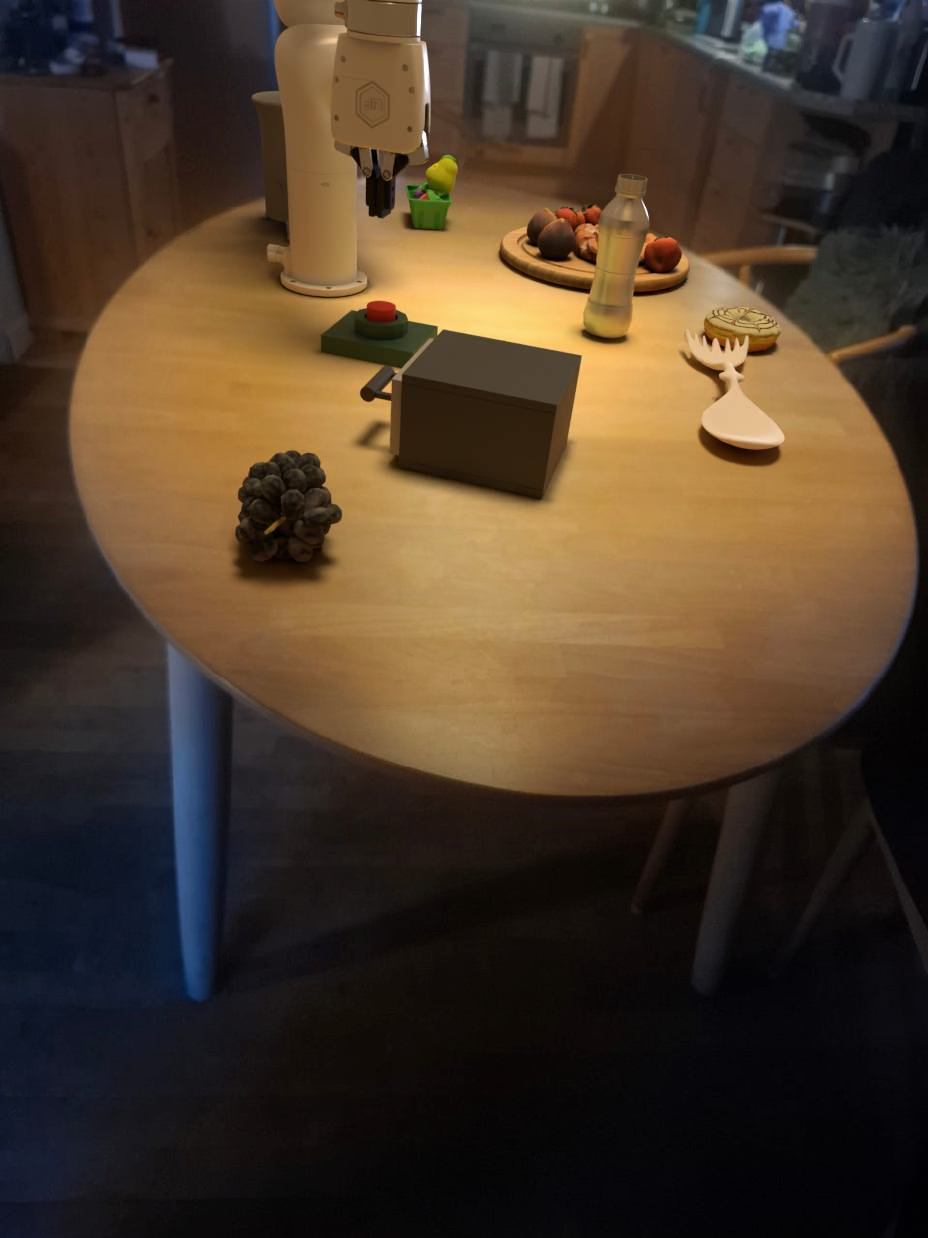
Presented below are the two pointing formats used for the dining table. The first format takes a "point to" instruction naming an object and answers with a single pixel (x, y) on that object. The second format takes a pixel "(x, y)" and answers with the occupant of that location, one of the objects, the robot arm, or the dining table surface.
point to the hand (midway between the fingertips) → (380, 214)
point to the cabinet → (487, 411)
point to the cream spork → (734, 400)
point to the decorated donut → (742, 327)
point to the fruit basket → (433, 195)
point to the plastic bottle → (617, 259)
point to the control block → (376, 338)
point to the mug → (273, 155)
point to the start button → (381, 311)
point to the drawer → (390, 395)
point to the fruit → (285, 507)
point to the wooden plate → (585, 251)
